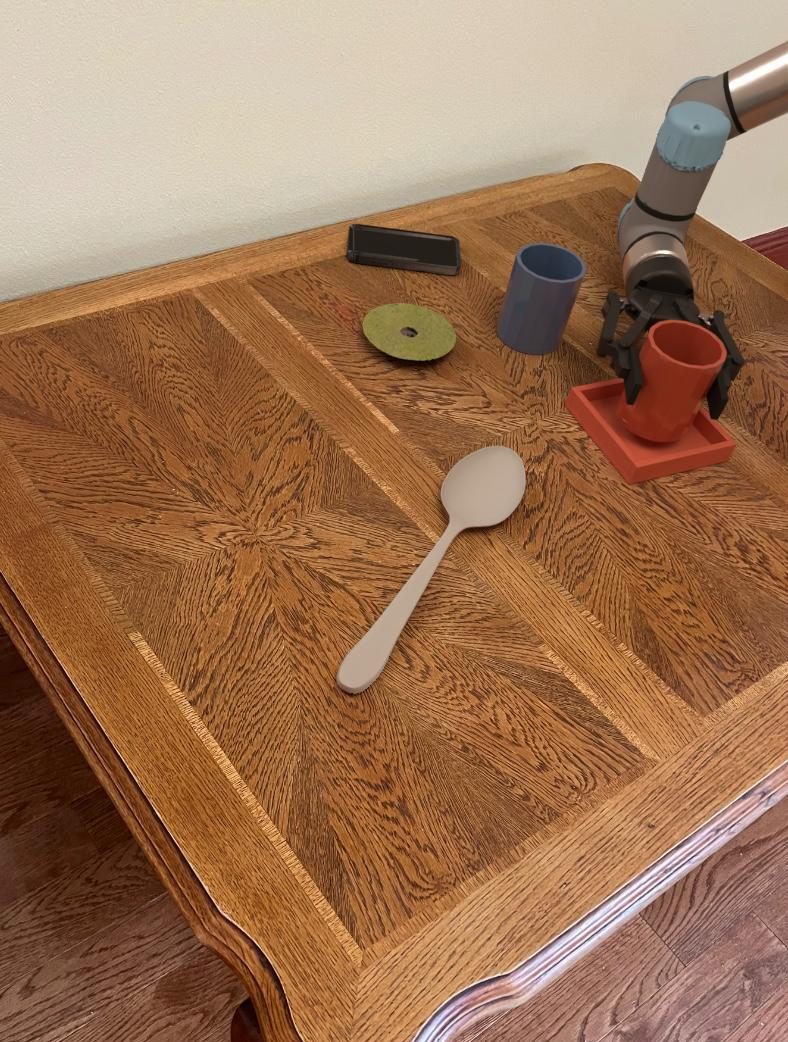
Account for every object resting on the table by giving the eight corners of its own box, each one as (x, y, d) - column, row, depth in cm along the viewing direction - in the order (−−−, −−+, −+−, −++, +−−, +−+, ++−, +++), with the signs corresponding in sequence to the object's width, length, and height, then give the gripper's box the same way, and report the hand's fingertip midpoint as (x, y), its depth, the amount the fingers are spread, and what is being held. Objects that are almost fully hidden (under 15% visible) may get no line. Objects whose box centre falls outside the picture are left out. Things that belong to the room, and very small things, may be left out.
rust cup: (702, 434, 105) (742, 361, 97) (642, 448, 102) (679, 373, 94) (660, 388, 109) (695, 315, 101) (602, 400, 106) (633, 325, 99)
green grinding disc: (358, 312, 116) (360, 298, 114) (447, 319, 117) (450, 305, 115) (363, 369, 109) (365, 355, 107) (458, 376, 110) (461, 362, 108)
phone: (349, 222, 126) (459, 236, 127) (348, 230, 127) (457, 244, 128) (347, 254, 121) (461, 269, 122) (346, 262, 122) (459, 276, 123)
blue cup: (572, 349, 116) (599, 277, 108) (516, 359, 113) (539, 286, 106) (539, 310, 120) (562, 239, 113) (484, 319, 118) (504, 246, 110)
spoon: (471, 450, 102) (475, 431, 100) (538, 479, 100) (544, 461, 98) (303, 680, 82) (305, 664, 80) (383, 723, 80) (386, 707, 78)
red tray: (727, 461, 106) (737, 444, 104) (628, 485, 101) (637, 467, 99) (658, 386, 113) (666, 368, 111) (564, 405, 109) (570, 387, 107)
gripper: (730, 324, 115) (759, 446, 101) (561, 294, 115) (566, 412, 101) (758, 269, 110) (794, 391, 95) (580, 238, 109) (588, 355, 95)
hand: (677, 402), depth 98 cm, fingers closed on rust cup, 8 cm apart
